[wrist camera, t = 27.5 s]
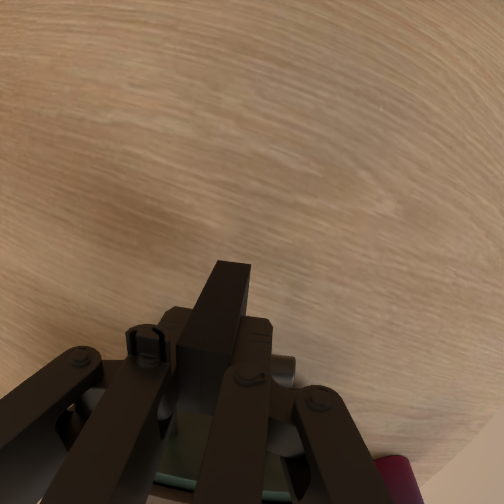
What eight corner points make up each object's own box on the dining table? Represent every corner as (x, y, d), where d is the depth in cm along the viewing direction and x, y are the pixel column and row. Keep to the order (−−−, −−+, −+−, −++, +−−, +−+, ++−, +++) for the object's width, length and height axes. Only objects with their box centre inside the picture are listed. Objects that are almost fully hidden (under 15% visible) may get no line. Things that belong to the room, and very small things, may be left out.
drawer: (138, 283, 18) (66, 365, 10) (341, 309, 17) (371, 413, 10) (162, 469, 24) (140, 535, 17) (284, 487, 24) (281, 558, 16)
